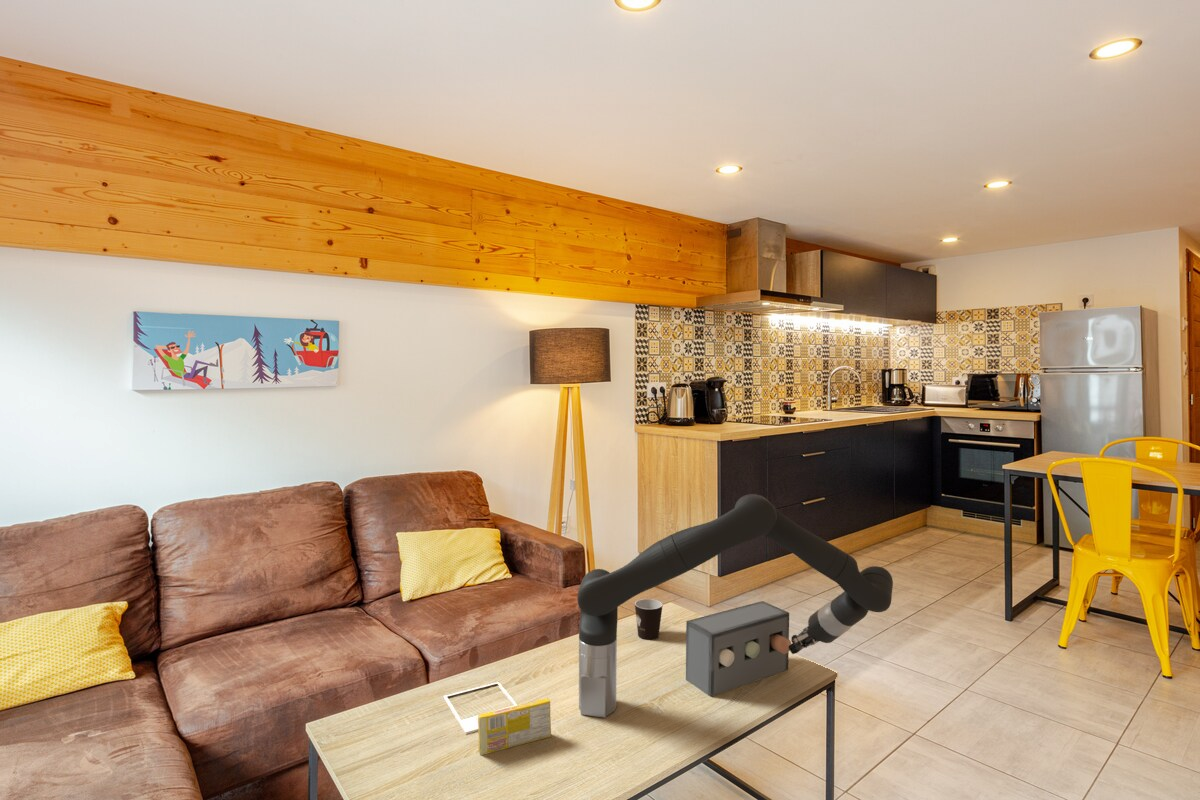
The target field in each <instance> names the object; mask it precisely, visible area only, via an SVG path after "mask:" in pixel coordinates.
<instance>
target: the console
mask: <svg viewBox="0 0 1200 800" xmlns="http://www.w3.org/2000/svg"><path fill="white" fill-rule="evenodd" d="M685 623H686V624H685V625H686V626H685V628H686V630H685V631H686V632H685V634H686V635H685V637H686V638H685V680H686V681H687V682H688V683H690V684H691V685H693V686H694V687H695V688H697V689H699V690H700V691H701V692H703V693H705V694H706V695H708V696H709V697H714V696H718V695H720V694H723V693H726V692H728V691H731V690H734V689H736V688H740V687H743V686H745V685H749V684H751V683H754V682H757V681H759V680H763V679H765V678H769V677H771V676H774V675H778V674H780V673H782V672H786V671H788V670H789V656H790V655H789V652H790V651H789V652H788V653H787V654H782V653H781V652H779V651H777V650H775V649H773V648H772V647H771V644H770V643H769V638H770V634H772V635H776V634H778V635H780V636H783V637H785V638H787V639H789V640H790V612H788V611H786V610H784V609H781V608H779V607H778V606H775V605H772V604H770V603H768V602H766V601H761V600H760V601H757V602H754V603H751V604H746V605H742V606H738V607H735V608H734V607H733V608H731V609H727V610H723V611H721V612H720V611H719V612H716V613H711V614H708V615H704V616H700V617H696V618H693V619H689V620H686V621H685ZM750 640H752V641H754V642H756V643H757V644H759V646H760V651H759V654H758V656H757V657H755V658H751V657H749V656H747V655H745V642H747V641H750ZM724 648H727V649H729V650H730V651H732V652H733V653H734V661H733V663H732V664H731V665H730V666H728V667H726V666H724V665H722V664H721V663H719V650H721V649H724Z"/></svg>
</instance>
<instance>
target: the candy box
mask: <svg viewBox="0 0 1200 800" xmlns="http://www.w3.org/2000/svg"><path fill="white" fill-rule="evenodd" d="M512 706H513V705H512ZM508 707H509V706H508ZM504 708H505V709H502V708H500V709H501V710H499V709H496V710H497V711H495V710H492V711H489V712H485V713H480V714H478V731H477V732H478V752H479V755H480V756H483V755H487V754H491V753H494V752H499V751H502V750H505V749H509V748H513V747H517V746H520V745H526V744H528V743H532V742H537V741H540V740H543V739H548V738H551V737H552V728H551V727H552V726H551V724H552V723H551V700H550V699H549V698H547V697H546V698H542V699H538V700H534V701H531V702H530V701H529V702H526V703H523V704H517V706H513V707H509V708H506V707H504Z"/></svg>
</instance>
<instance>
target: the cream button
mask: <svg viewBox="0 0 1200 800" xmlns="http://www.w3.org/2000/svg"><path fill="white" fill-rule="evenodd" d="M733 661H734V653H733V652H732V651H730V650H729V649H727V648H724V649H721V650H719V663H721V664H722V665H724V666H726V667H728V666H730V665H731V664H732V663H733Z"/></svg>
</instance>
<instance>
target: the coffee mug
mask: <svg viewBox="0 0 1200 800" xmlns="http://www.w3.org/2000/svg"><path fill="white" fill-rule="evenodd" d="M663 605H664V604H663V603H662V602H661V601H660V600H657V599H652V598H642V599H638V600H636V601H635V602H634V611H635V619H636V628H637V629H636V630H637V636H638V638H639V639H641V640H647V641H652V640H653V641H654V640H656V639H659V635H660V631H661V630H660V628H661V620H662V614H663V613H662V612H663Z"/></svg>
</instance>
